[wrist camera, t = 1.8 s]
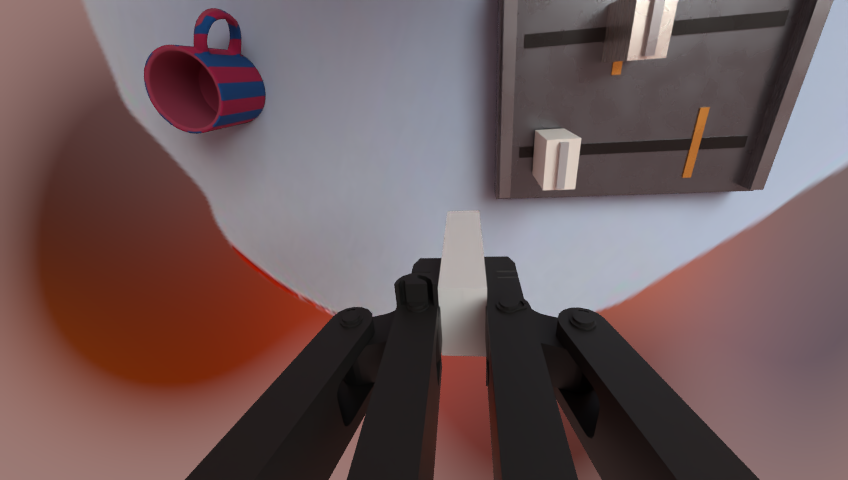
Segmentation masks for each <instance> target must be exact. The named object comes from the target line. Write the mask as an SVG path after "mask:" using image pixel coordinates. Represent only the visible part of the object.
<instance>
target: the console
mask: <svg viewBox="0 0 848 480" xmlns="http://www.w3.org/2000/svg"><path fill="white" fill-rule="evenodd" d="M832 3H833V0H498V45H497V100H496V154H495V196H496V199H508V198H539V197H571V196H602V195H633V194H664V193H696V192H727V191H753V190H763V189H764V186H765V183H766V180H767V178H768V175H769V172H770V170H771V167H772V164H773V162H774V159H775V156H776V154H777V151H778V148H779V145H780V143H781V140H782V137H783V135H784V132H785V129H786V127H787V124H788V121H789V119H790V116H791V113H792V110H793V108H794V105H795V102H796V100H797V97H798V94H799V92H800V89H801V86H802V84H803V81H804V78H805V75H806V73H807V70H808V67H809V65H810V62H811V59H812V57H813V54H814V51H815V49H816V46H817V43H818V40H819V38H820V35H821V32H822V30H823V27H824V24H825V22H826V19H827V16H828V14H829V11H830V8H831V5H832ZM562 128H565V129H566V130H568V131H570V132H572V133H573V134H575V135H577V136H578V137H580V138H581V146H580V154H579V162H578V170H577V178H576V186H575V189H569V190H542V188H541V187H540V185H539V184H538V182H537V181H536V179H535V177H534V176H533V174H532V170H533V155H534V140H535V130H544V129H562Z"/></svg>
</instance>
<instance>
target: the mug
mask: <svg viewBox="0 0 848 480" xmlns="http://www.w3.org/2000/svg"><path fill="white" fill-rule="evenodd" d="M219 19H226V21H227V23H228V26H229V31H230V42H229V47H228V50H225V49H214V48H208V45H207V36H208V32H209V29H210V27H211V25H212V24H213V22H214V21H216V20H219ZM144 81H145V87H146V90H147V93H148V96H149V98H150V100H151V102H152V104H153V105H154V107H155V108H156V110H157V111H158V112H159V114H160V115H161V116H162V117H163V118H164V119H165V120H166V121H168V122H169V123H170V124H171V125H173V126H174V127H176V128H178V129H180V130H182V131H185V132H189V133H196V134H197V133H204V132H209V131H213V130H217V129H221V128H226V127H230V126H234V125H238V124H243V123H247V122H250V121H252V120H254V119H255V118H256V117H257V116H259V114H260V113H261V111H262V109H263V107H264V103H265V87H264V84H263V80H262V78H261V76H260V74H259V72H258V71H257V69H256V68H255V66H254V65H253V64H252V63H251V62H250V61H249V60H248V59H247V58H246V57H244V56H243V55H241V31H240V27H239V25H238V23H237V21H236V20H235V19H234V18H233V17H232V16H231V15H230V14H228V13H226V12H225V11H222V10H220V9H216V8H211V9H207V10H205V11H204V12H202V13H201V15H200V16H199V17H198V19H197V21H196V24H195V29H194V47H192V46H180V45H164V46H161V47H159V48H157V49H155V50H154V51H153V52H152V53H151V54H150V56H149V57H148V59H147V61H146V64H145V68H144Z"/></svg>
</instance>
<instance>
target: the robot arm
mask: <svg viewBox="0 0 848 480" xmlns="http://www.w3.org/2000/svg"><path fill="white" fill-rule="evenodd" d="M394 286H395V294H396V302H397V308H396V310H395V311H393V312H391V313H388V314H384V315H380V316H375V317H372V313H371V312H370V311H369V310H368V309H365V308H362V307H352V308H347V309H345V310H342V311H340V312H338V313H337V314H336V315H335V316H333V317H332V319H331V320H330V321H329V322H328V323H327V324H326V325H325V326H324V327H323V328H322V330H321V331H320V332H319V333H318V334H317V335H316V336H315V337H314V338H313V339H312V341H311V342H310V343H309V344H308V345H307V346H306V347H305V348H304V349H303V351H302V352H301V353H300V354H299V355H298V356H297V357H296V358H295V359H294V360H293V361H292V362H291V364H290V365H289V366H288V367H287V368H286V369H285V370H284V371H283V373H281V375H280V376H279V377H278V378H277V379H276V380H275V381H274V382H273V383H272V385H271V386H270V387H269V388H268V389H267V390H266V391H265V392H264V393H263V394H262V396H261V397H260V398H259V399H258V400H257V401H256V402H255V403H254V404H253V405H252V406H251V408H250V409H249V410H248V411H247V412H246V413H245V414H244V415H243V416H242V417H241V419H240V420H239V421H238V422H237V423H236V424H235V425H234V426H233V427H232V428H231V430H230V431H229V432H228V433H227V434H226V435H225V436H224V437H223V438H222V439H221V441H220V442H219V443H218V444H217V445H216V446H215V447H214V448H213V449H212V450H211V452H210V453H209V454H208V455H207V456H206V457H205V458H204V459H203V460H202V461H201V463H200V464H199V465H198V466H197V467H196V468H195V469H194V470H193V471H192V472H191V474H190V475H189V476H188V477H187V478H186V479H185V480H329V478H330V476H331V474H332V473H333V471H334V469H335V467H336V465H337V464H338V462H339V460H340V458H341V456H342V455H343V453H344V451H345V449H346V447H347V446H348V444H349V442H350V441H351V439H352V437H353V435H354V433H355V432H356V430H357V428H358V426H359V425H360V423H361V421H362V419H363V417H364V416H365V418H364V422H363V425H362V429H361V432H360V436H359V439H358V443H357V446H356V450H355V453H354V457H353V460H352V463H351V467H350V470H349V474H348V477H347V480H433V478H434V477H433V476H434V464H435V451H436V437H437V425H438V412H439V399H440V386H441V372H442V362H441V352H442V355H450V356H486V386H488V400H489V414H490V415H489V416H490V430H491V445H492V460H493V473H494V480H578V478H577V474H576V470H575V467H574V463H573V460H572V456H571V452H570V449H569V445H568V441H567V438H566V434H565V430H564V427H563V423H562V419H561V416H560V412H559V408H558V405H557V401H558V403H559V405H560V407H561V408H562V410H563V412H564V414H565V415H566V417H567V419H568V420H569V422H570V424H571V426H572V428H573V429H574V431H575V433H576V435H577V437H578V438H579V440H580V442H581V443H582V445H583V447H584V449H585V451H586V452H587V454H588V456H589V458H590V459H591V461H592V463H593V465H594V467H595V468H596V470H597V472H598V473H599V475H600V477H601V479H602V480H759V479H758V478H757V476H756V475H755V474H754V473H753V472H752V471H751V470H750V469H749V468H748V467H747V466H746V465H745V464H744V463H743V462H742V461H741V460H740V459H739V458H738V457H737V456H736V455H735V454H734V453H733V452H732V450H731V449H730V448H729V447H727V445H726V444H725V443H724V442H723V441H722V440H721V439H720V438H719V437H718V436H717V435H716V434H715V433H714V432H713V431H712V430H711V429H710V428H709V427H708V426H707V424H706V423H705V422H704V421H703V420H702V419H701V418H700V417H699V416H698V415H697V414H696V413H695V412H694V411H693V410H692V409H691V408H690V407H689V406H688V405H687V404H686V403H685V402H684V401H683V400H682V398H681V397H680V396H678V394H677V393H676V392H675V391H674V390H673V389H672V388H671V387H670V386H669V385H668V384H667V383H666V382H665V381H664V380H663V379H662V378H661V377H660V376H659V375H658V374H657V373H656V372H655V370H654V369H653V368H652V367H651V366H650V365H649V364H648V363H647V362H646V361H645V360H644V359H643V358H642V357H641V356H640V355H639V354H638V353H637V352H636V351H635V350H634V349H633V348H632V347H631V345H629V344H628V342H627V341H626V340H625V339H624V338H623V337H622V336H621V335H620V334H619V333H618V332H617V331H616V330H615V329H614V328H613V327H612V326H611V325H610V324H609V323H608V322H607V321H606V320H605V318H603V317H602V316H601V315H599V314H598V313H596V312H593V311H591V310H589V309H584V308H568V309H565V310H563V311H562V312H561V313H559V316H558V318H556V317H552V316H547V315H544V314H540V313H538V312H536V311H534V310H532V309H531V306H530V305H529V303H528V302H527V301H526V300H525V299H524V297H523V293H522V289H521V286H520V282H519V278H518V274H517V270H516V266H515V263H514V262H513V261H512V260H511V259H510V258H509V257H484V252H483V242H482V232H481V222H480V213H479V211H448V212H447V220H446V228H445V236H444V243H443V251H442V258H420V259H419V260H418V261H417V262H416V263H415V264H414V266H413V269H412V273H411V274H408V275H405V276H402V277H401V278H399V279H398V280H397V281H396V282H395V284H394ZM556 400H557V401H556ZM365 414H366V415H365Z"/></svg>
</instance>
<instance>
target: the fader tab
mask: <svg viewBox="0 0 848 480" xmlns="http://www.w3.org/2000/svg"><path fill="white" fill-rule="evenodd" d="M580 146H581V138H580V137H578V136H577V135H575V134H573V133H572V132H570V131H568V130H566V129H565V128H562V129H544V130H535V140H534V155H533V170H532V174H533V176H534V177H535V179H536V181H537V182H538V184H539V185H540V187H541V188H542V190H569V189H575V186H576V178H577V170H578V162H579V154H580Z"/></svg>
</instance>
